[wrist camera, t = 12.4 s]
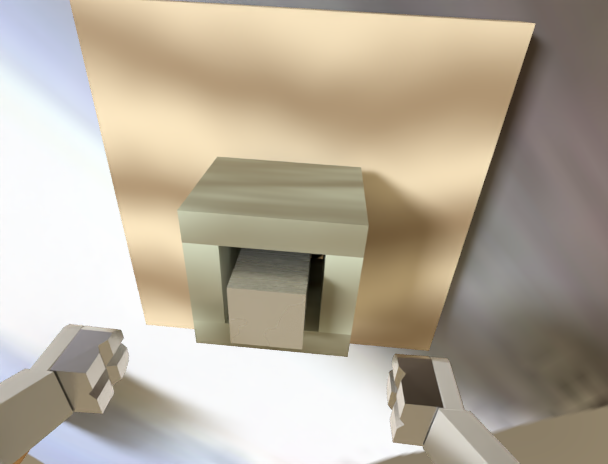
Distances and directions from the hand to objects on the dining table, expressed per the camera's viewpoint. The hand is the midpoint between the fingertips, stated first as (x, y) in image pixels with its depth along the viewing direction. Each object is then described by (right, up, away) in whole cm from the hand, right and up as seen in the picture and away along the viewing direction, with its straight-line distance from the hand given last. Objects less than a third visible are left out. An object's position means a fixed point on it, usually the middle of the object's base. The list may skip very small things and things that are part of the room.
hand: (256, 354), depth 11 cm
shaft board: (+1, +5, +9) cm, 11 cm away
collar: (+1, +4, +7) cm, 8 cm away
